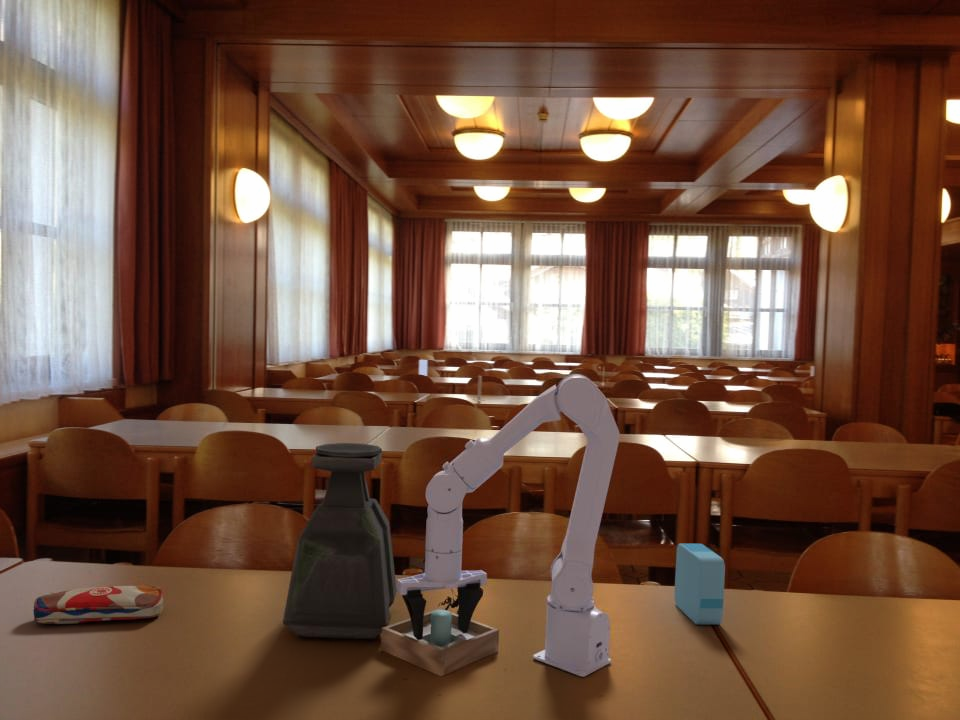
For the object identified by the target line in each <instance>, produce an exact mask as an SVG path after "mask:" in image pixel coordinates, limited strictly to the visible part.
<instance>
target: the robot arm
mask: <svg viewBox="0 0 960 720" xmlns="http://www.w3.org/2000/svg"><path fill="white" fill-rule="evenodd" d="M556 385H557V384H554V385H552V386H551V387H549V388H548V389H546V390H544V391H543V392H542V393H540V394H539V395H538V396H536V397H535V398H534V399H532V400H531V401H530V402H529V403H528V404H527V405H526V406H525V407H524V408H523V409H522V410H521V411H519V412H518V413H517V414H516V415H515V416H514V417H513V418H512V419H511V420H510V421H508V422H507V423H506V424H505V425H504V426H503V427H502V428H501V429H500V430H499V431H498V432H496V433H495V434H494V435H493V437H491V438H487V437H486V438H485V437H478V438H477V439H476V440H475V441H473V439H470V440H469V441H468V442H466V444H465V445H464V448H465V449H464V450H463V451H462V452H461V453H460V454H459V455H457V456H455V458H454V459H453V460H451V462H449V461H446V462H445V463H443V465H442V469H443V470H441V471H439V472H437V473H435V475H433V477H432V478H431V480H430V481H429V482H428V484H427V485H426V488H425V499H426V502H427V504H428V506H427V518H426V523H425V524H426V528H425V554H424V556H425V557H424V572H423V573H420V574H415V575H412V576H408V577H403V578H397V579H396V589H397V592H396V593H397V594H398V595H400V596H401V597H402V599H403V602H404V603H405V606H406V609H407V613H408V614H409V619H411V623H412V628H413V636H414V637H415V638H416V639H417V640H422V637H423V617H424V613H425V610H426V605H427V600H426V599H425V598H424V596H423V593H422V592H425V591H426V592H427V591H437V590H445V589H447V590H448V589H449V590H451V588H452V589H456V590H457V595H458V602H459V605H458V609H459V610H457V611H458V612H457V613H458V629H459V630H460V631H461V632H462V633H463V634H464V633H467V632H468V628H469V624H470V621H471V620H472V618H473V614H474V613H475V610H476V609H477V606H478V604H479V602H480V601H481V600H482V598H483V595H484V588H482V587H484V586H488V585H487V580H488V579H487V578H488V573H487V572H485V571H483V570H482V569H480V570H462V565H463V564H462V561H463V559H462V558H463V556H462V555H463V532H464V531H463V529H464V526H463V525H464V520H463V519H464V518H463V501H464V498H465V496H466V494H467V493H473V492H474V491H476V489H478V488H479V487H480V486H481V485H482V484H484V483H485V482H486V481H487V480H488V479H490V478H491V477H492V476H493V475H494V474H496V473H497V472H498V471H499V470H500V469H501V468H502V467H503V466H504V455H505V454H506V453H507V452H508V451H510V450H511V449H512V448H513V447H514V446H516V445H517V444H518V443H520V442H521V441H522V440H523V439H524V438H526V437H527V436H528V435H529V434H531V433H532V432H533V431H534V430H536V428H538V427H539V426H540V425H541V424H543V423H549V422H555V421H556V422H557V421H561V420H562V417H561V416H562V415H561V413H563V415H565V416H566V417H567V418H568V419H570V420H571V421H573V423H575V424H577V426H578V427H579V429H580V430H581V432H582V433H583V435H584V436H585V438H586V439H587V440H586V445H585V451H584V453H583V458H582V463H581V468H580V471H579V472H580V473H579V475H578V479H577V480H578V481H577V485H576V489H575V493H574V499H573V502H572V507H571V510H570V511H571V512H570V516H569V521H568V525H567V528H566V533H565V537H564V539H563V542H562V545H561V550H560V552H559V554H558V555H557V556H556V557H555V559H553V562H552V563H551V566H550V578H551V585H550V586H551V587H550V589H551V593H550V594H549V595H548V596H547V597H546V599H547V600H546V618H545V619H546V623H545V642H544V649H543V650H540V651H539V652H537V653H534V654H533V655H532V658H533V659H534V660H537V661H539V662H542V663H545V664H547V665H550V666H552V667H555V668H558V669H560V670H563V671H566V672H568V673H571V674H573V675H576V676H578V677H583V678H585V677H587V676H588V675H590V674H591V673H593V672H596V671H598V670H599V669H601V668H603V667H605V666H607V665H609V664H610V663H612V659H611V658H610V639H611V638H610V635H611V623H610V622H611V621H610V618H609V616H608V614H607V613H605V612H603V611H601V610H600V609H598V607H596V606H595V601H594V598H593V596H594V591H595V589H594V582H593V579H592V573H593V568H594V557H595V547H596V543H597V539H598V534H599V530H600V525H601V521H602V517H603V513H604V509H605V504H606V499H607V495H608V491H609V486H610V481H611V478H612V473H613V469H614V464H615V461H616V456H617V452H618V446H619V443H620V436H621V435H620V431H619V428H618V426H617V423H616V420H615V418H614V415H613V413H612V410H611V408H610V405H609V403H608V400H607V397H606V395H605V394H604V393H603V392H602V391H601V390H600V389H599V387H598V386H597V385H596V384H595V383H594V382H593V381H592V380H591V379H590V378H589V377H587V376H586V375H583V374H577V373H574V374H569V375H567V376H564V378H562V380H560V381H559V383H558V385H557V386H556Z"/></svg>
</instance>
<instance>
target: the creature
mask: <svg viewBox="0 0 960 720" xmlns="http://www.w3.org/2000/svg"><path fill="white" fill-rule="evenodd" d="M450 591H451V592H452V595H454V596H455V597H456V599H455V597H454V596H452V597H450V596H446V597H447V598H445V600H444V601H442V602H440V603H438V605H437V607H438V608H439V607H440V606H445V605H446V604H447V606H446V607H445V609H444V610H447V611H449V608H452V609H455V608H457V607H458V608H457V611H456V614H457V615H458V611H459V602H458V594H457V595H456V593H455V591H454V590H453V588H451V589H450Z"/></svg>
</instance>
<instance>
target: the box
mask: <svg viewBox="0 0 960 720" xmlns="http://www.w3.org/2000/svg"><path fill="white" fill-rule="evenodd" d="M435 610H445V609H443V608H441V607H440V608H439V607H438V608H436V609H434V610H430V611H428V612H424V617H423V637H422V640H417V639H416V638H415V637H414V636H413V628H412V623H411V619H410V618H407V619H405V620H404V619H403V620H401V621H399V622H395V623H392V624H390V625H387V626H386V627H383V628H382V632H381V639H380V641H381V644H380V650H381V651H382V652H385V653H387V654H390V655H391V656H394V657H396V658H398V659H400V660H402V661H405V662H407V663H410V664H412V665H415V666H416V667H419V668H421V669H423V670H425V671H428V672H430V673H431V674H434V675H437V676H439V677H443V676H445V675H447V674H450V673H452V672H454V671H456V670H459V669H461V668H463V667H466V666H468V665H470V664H473V663H475V662H477V661H480V660H481V659H482V660H483V659H484V658H486V657H488V656H489V657H490V655H493V654H495V653H498V652H499V640H500V629H499V628H496V627H492V626H491V625H488V624H484V623H482V622H479V621H477V620H473V619H471V621H470V624H469V628H468V632H467V633H464V634H463V633H462V632H461V631H460V630H459V629H458V615H457V613H454V612H451V611H450V612H451V613H452V622H451V643H449V644H447V645H444V646H442V647H440V646H437V645H435V644H433V643H430V636H431V613H432V612H433V611H435Z"/></svg>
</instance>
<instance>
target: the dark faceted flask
mask: <svg viewBox="0 0 960 720" xmlns="http://www.w3.org/2000/svg"><path fill="white" fill-rule="evenodd" d="M315 451H316V452H315V454H313V455H312V456H311V468H314V469H316V470H317V469H318V470H322V471H327V472H330V475H329V480H328V484H327V487H326V492H325V495H324V498H323V500H322V501H321V503H320V504H318V505H317V506H316V508H315V509H314V510H313V512H312V514H311V516H310V518H308V520H307V523H306V524H305V526H304V527H303V529H302V530H301V533H300V534H299V536H298V538H297V543H296V546H295V547H296V548H295V554H294V558H293V563H292V568H291V569H292V570H291V575H290V580H289V585H288V592H287V596H286V602H285V609H284V613H283V619H282V625H284V627H285V626H286V628H288V629H289V630H290V631H291V632H292V633H294V634H295V635H296V636H298V637H300V638H301V637H302V638H322V639H323V638H324V639H326V638H328V639H350V640H351V639H353V640H375V639H376V638H377V637H378V635H380V634H382V628H383V627H386V626H388V622H389V619H390V617H391V616H390V615H391V614H390V613H391V612H390V608H391V607H392V605H393V604H394V602H395V598H396V596H397V593H398V592H397V579H396V574H395V563H394V554H393V552H394V551H393V545H392V536H391V535H392V534H391V525H390V521H389V519H388V518H387V515H386V514H385V512H384V510H383V508H382V507H381V506H380V504H379V502H378V500H377V499H375V498H372V497H371V498H370V493H369V487H368V484H367V483H368V482H367V478H366V472H370V471H374V470H375V469H376V468H377V467H378V465H379V464H380V462H381V461H382V459H383V457H382V454H383V453H382V452H383V449H382V448H381V447H380V446H379V445H375V444H368V443H354V442H351V443H349V442H339V443H338V442H337V443H324V444H322V445H321V444H320V445H317V446H315Z"/></svg>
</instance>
